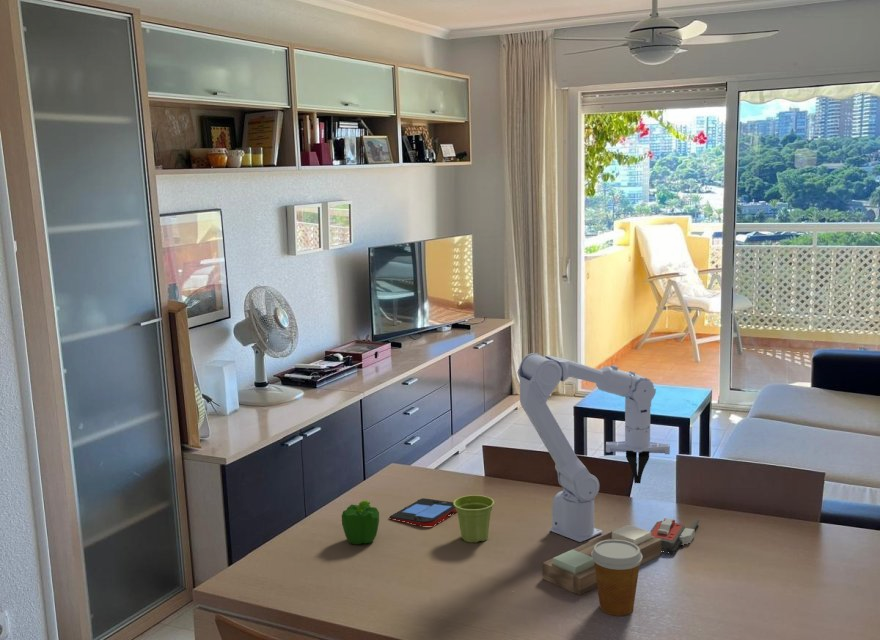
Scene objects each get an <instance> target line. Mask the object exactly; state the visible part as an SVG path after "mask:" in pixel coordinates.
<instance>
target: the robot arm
mask: <svg viewBox="0 0 880 640" xmlns="http://www.w3.org/2000/svg"><path fill="white" fill-rule="evenodd" d="M517 376H518V380H519V401H520V405H521V408H522V409H523V411H524V412H525V414H526V416H527V417H528V419H529V421H530V422H531V425H533V427H534V429H535V431H536V433H537V434H538V436H539V438H540V440H541V442H542V443H543V444H544V446H545V448H546V450H547V452H548V453H549V455H550V456H551V459H552V460H553V461H554V463H555V466H554V469H555V470H556V472H557V473H556V474H557V480H558V484H559V486H561V487H562V490H561V491H559V492H557V493H556V494H555V495H554V497H553V500H552V503H551V506H552V507H551V519H552V520H551V523H552V524H551V525H552V526H551V528H550V529H549V531H550V532H553V533H554V534H558V535H560V536H562V537H566V538H568V539H570V540H573V541H576V542H579V543H582V542H585V541H586V540H589V539H591V538H594V537H596V536H598V535H600V534H602V533H603V530H602V529H598V528H596V527H595V497H596V496H597V495H598V493H599V491H600V482H599V479H598V478H597V477H596V476H595V475H593V474H591V473H590V471H589V470H588V468H587V467H586V465H584V463H583V462H582V461H581V460H580V459H579V458H578V456H577V455H576V453H575V451H574V449H573V447H572V446H571V444H570V442H569V440H568V439H567V437H566V436H565V433H564V432H563V430H562V429H561V427H560V425H559V423H558V422H557V420H556V418H555V416H554V414H553V413H552V411H551V409H550V408H549V406H548V404H547V401H548V399H549V397H550V396H551V394H552V393H553V391H554V390H555V389H556V388H557V386H558V385H559V383H560V381H561V382H562V383H563V382H565V381H566V380H568V379H569V378H573V379H577V380H582V381H584V382H585V381H586V382H589V383H590V382H591V383H594V384H595V386H596V387H597V389H598V390H599V391H601V392H606V393H609V394H613V395H615V396H619V397H622V398H623V397H624V406H625V407H624V419H625V420H624V425H625V426H624V428H625V429H624V441H623V440H622V441H606V442H605V452H606V453H611V452H617V453H619V452H620V453H625V458H626V460H627V462H628V464H629V467H630V469H631V472H632V476H633V481H634V484H641V480H642V476H643V472H644V469H645V467H646V465H647V464H648V462H649V460H650V454H664V455H670V454H671V453H670V452H671V448H670V447H671V446H670V444H669V443H662V442H653V441H651V407H652V401H653V399H654V397H655V396H656V391H657V389H656V388H655V385H654V383H653V382H652V381H651V380H650V379H649V378H647V377H644V376H642V375H639V374H636V372H634V371H631V370H630V371H625V370H622V369H619V366H616V365H614V364H611V365H610V366H606V365H605V366H603V367H601V368H599V369H597V368H594V367H591V366H588V365H585V364H582V363H579V362H576V361H573V360H569V359H566V358H562V357H560V356H559V357H558V356H553V355H547V354H543V355H541V354H540V353H536V352H533V353H528V354H527V355H525V356H524V357H523V358H522V359H521V362H520V365H519V367H518V370H517ZM637 460H638V462H637ZM637 463H638V464H637Z"/></svg>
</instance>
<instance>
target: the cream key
mask: <svg viewBox="0 0 880 640" xmlns="http://www.w3.org/2000/svg"><path fill="white" fill-rule="evenodd" d="M650 531H651V530H647V529H643V528H641V527H637V526H635V525H631V524H627V525H624V526H622V528H621V527H619V528H617V529H615V530H613V531H611V532H612V539H614V540H624V541H628V542H631V543H634V544H635V545H639V544H641V543H643V542H646V541H648V540H650V539H651V532H650Z"/></svg>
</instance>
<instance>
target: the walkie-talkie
mask: <svg viewBox="0 0 880 640" xmlns="http://www.w3.org/2000/svg"><path fill="white" fill-rule="evenodd" d="M699 522H700V519H698V518H695V519H694V521H693V522H692V524H691V526H690V527H689V528H688V527H687V528H686V526H685V525H684V524H682V523H680V522H679V523H677V522H676V520H675V519H673V518H672V519H671V518H664V519H663V520H659V521H656V523H655V524H654V526H652V528H651V530H649V531H650V532H651V536H653V537H656V538H659V539H662V542H661V551H664V552H669V553H672V554H675V553H676V551H677V549H678V548H679V546H681V545H683V544H687V543H690V544H691V543H692V541H693V540H694V539H695V534H696V533H695V531H696V528H697V526H698V524H699ZM687 545H688V544H687ZM683 546H684V545H683ZM664 552H663V553H664ZM669 553H668V554H669Z"/></svg>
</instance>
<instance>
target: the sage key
mask: <svg viewBox="0 0 880 640" xmlns="http://www.w3.org/2000/svg"><path fill="white" fill-rule="evenodd" d="M573 549H574V548H572V549H570V550H568V551H565V552H562V553H561V554H558V555H557V556H554V557H552V558H553V565H554V566H556V567H559V568H561V569H563V570H566V571H568V572H570V573H573V574H575V575H576V574H578V573H580V572H583V571H585V570H587V569H589V568H591V567H593V566H595V565H594V561H593V558H592V557H590V556H588V555H585V554H583V553H580V552H578V551H575V550H573Z"/></svg>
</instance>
